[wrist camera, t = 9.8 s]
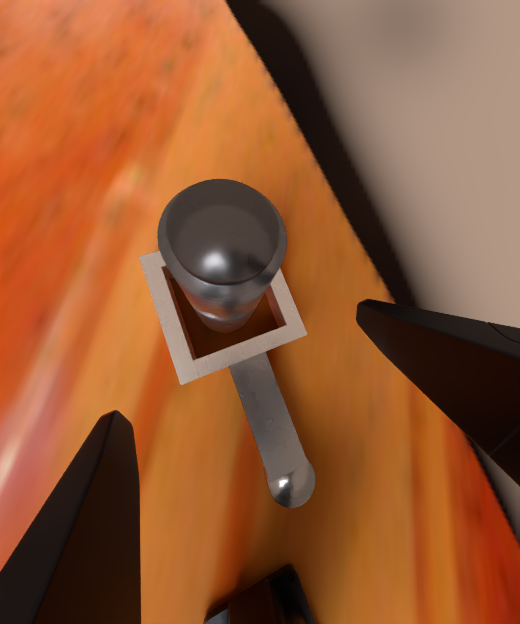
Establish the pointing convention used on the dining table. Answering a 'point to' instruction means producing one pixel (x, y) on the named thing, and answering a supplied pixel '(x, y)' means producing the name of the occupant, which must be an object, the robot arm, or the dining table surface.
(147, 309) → the dining table surface
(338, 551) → the dining table surface
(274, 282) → the square frame with handle
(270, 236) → the dark grey metal cylinder
